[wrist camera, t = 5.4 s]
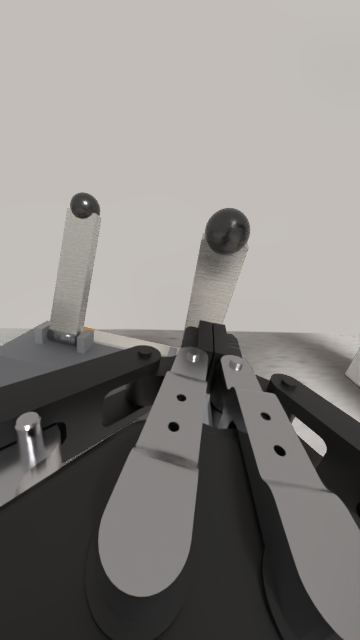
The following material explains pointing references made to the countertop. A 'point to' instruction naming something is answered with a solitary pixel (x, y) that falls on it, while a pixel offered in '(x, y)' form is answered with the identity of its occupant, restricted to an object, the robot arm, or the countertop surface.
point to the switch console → (67, 355)
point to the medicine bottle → (354, 369)
